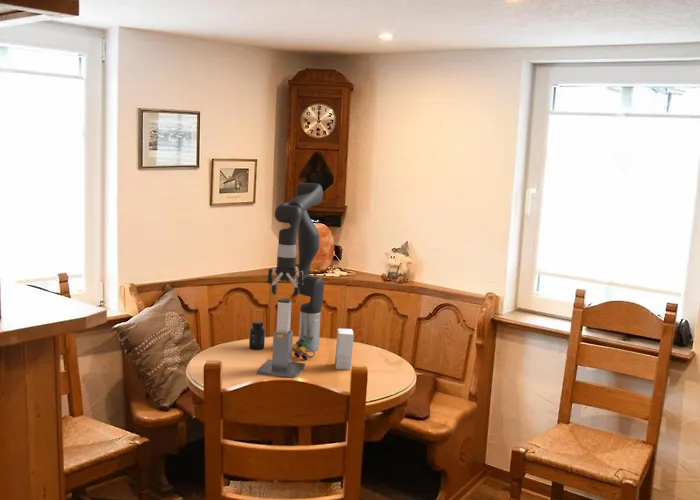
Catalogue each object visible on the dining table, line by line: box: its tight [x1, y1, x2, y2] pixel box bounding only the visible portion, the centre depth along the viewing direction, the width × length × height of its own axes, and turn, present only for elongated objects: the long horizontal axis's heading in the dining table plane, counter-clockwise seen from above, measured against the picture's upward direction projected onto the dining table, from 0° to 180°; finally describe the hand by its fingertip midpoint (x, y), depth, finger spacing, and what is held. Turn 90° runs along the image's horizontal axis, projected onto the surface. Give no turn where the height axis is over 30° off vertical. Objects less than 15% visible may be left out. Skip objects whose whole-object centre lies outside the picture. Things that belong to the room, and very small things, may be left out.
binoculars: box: [292, 335, 316, 361], centre depth 308 cm, size 9×9×10 cm
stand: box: [256, 330, 306, 379], centre depth 289 cm, size 16×16×16 cm
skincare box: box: [334, 328, 355, 371], centre depth 299 cm, size 8×7×16 cm
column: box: [275, 297, 293, 334], centre depth 287 cm, size 5×5×21 cm
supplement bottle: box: [248, 320, 266, 351], centre depth 318 cm, size 7×7×12 cm
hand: (284, 295), depth 285 cm, fingers open, 8 cm apart
